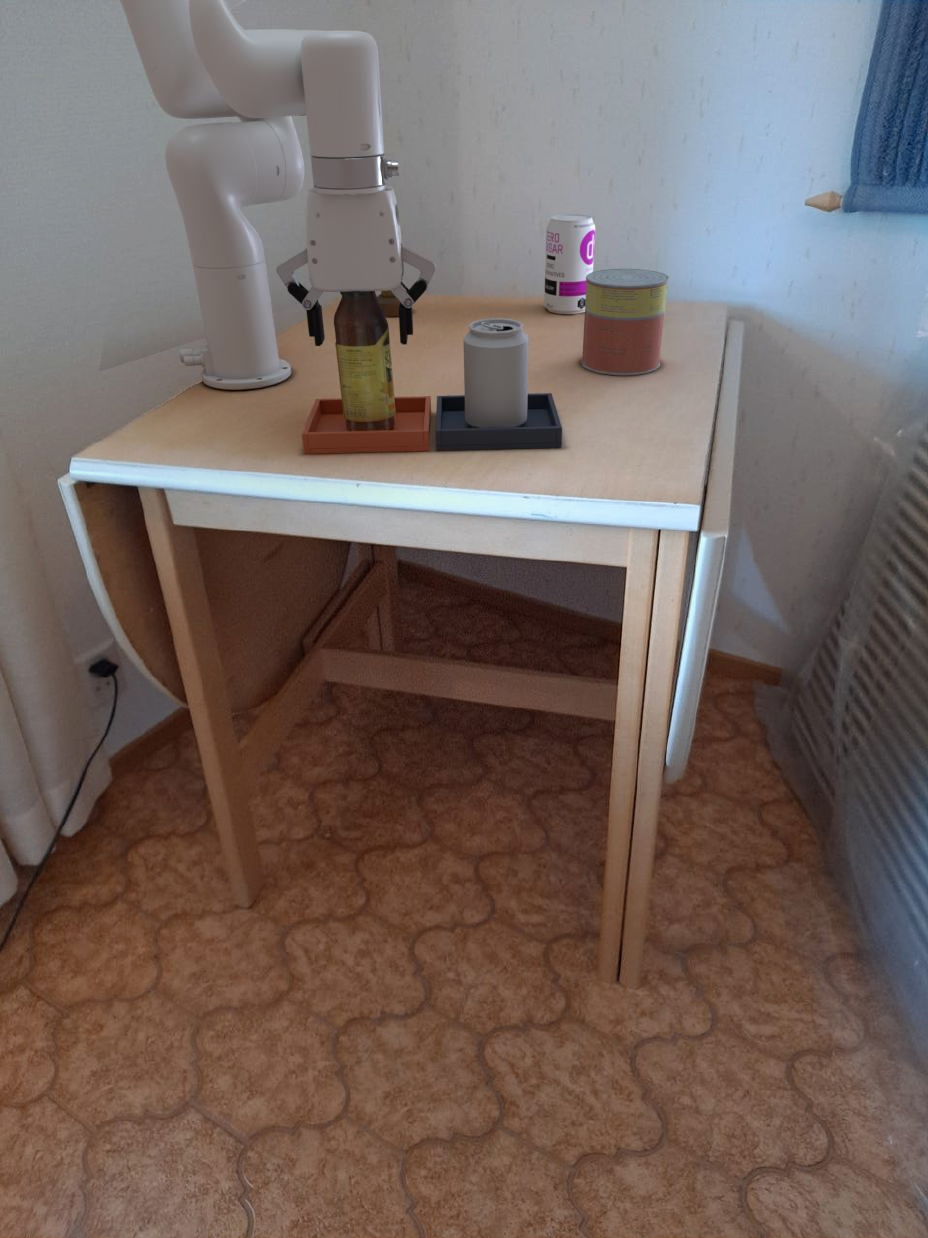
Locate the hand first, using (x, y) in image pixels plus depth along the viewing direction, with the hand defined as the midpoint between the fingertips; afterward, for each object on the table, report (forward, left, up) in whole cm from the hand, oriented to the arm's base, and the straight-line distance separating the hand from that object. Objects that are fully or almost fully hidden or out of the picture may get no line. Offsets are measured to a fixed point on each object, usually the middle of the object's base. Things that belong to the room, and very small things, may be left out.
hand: (362, 341), depth 99 cm
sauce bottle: (0, 0, -10) cm, 10 cm away
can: (+15, 0, -10) cm, 19 cm away
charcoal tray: (+15, 0, -11) cm, 19 cm away
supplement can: (+31, +58, -11) cm, 67 cm away
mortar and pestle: (0, +59, -11) cm, 60 cm away
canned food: (+35, +25, -11) cm, 44 cm away
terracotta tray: (0, 0, -11) cm, 11 cm away
